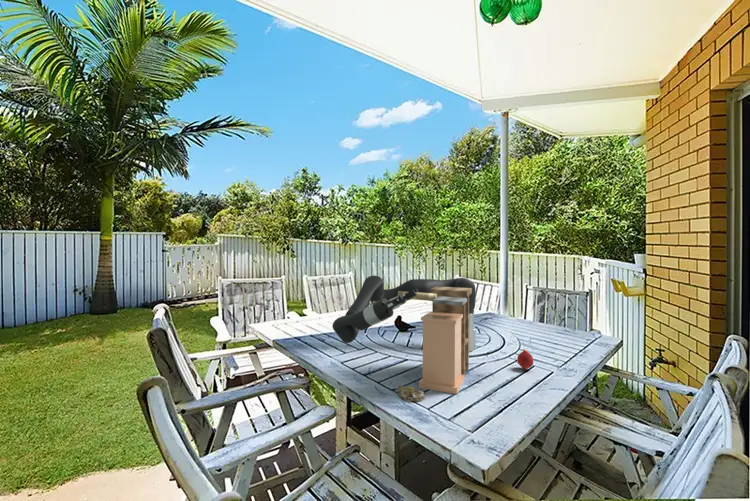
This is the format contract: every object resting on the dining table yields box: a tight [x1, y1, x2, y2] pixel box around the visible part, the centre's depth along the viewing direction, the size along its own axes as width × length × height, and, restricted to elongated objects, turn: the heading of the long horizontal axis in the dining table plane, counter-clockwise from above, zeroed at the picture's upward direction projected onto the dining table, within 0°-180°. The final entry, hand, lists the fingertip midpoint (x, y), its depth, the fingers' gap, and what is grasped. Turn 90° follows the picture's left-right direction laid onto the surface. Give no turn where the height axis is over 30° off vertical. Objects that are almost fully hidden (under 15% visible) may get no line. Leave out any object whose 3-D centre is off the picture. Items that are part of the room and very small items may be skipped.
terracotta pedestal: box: [418, 311, 465, 395], centre depth 125 cm, size 13×13×24 cm
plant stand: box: [430, 286, 472, 378], centre depth 138 cm, size 14×10×32 cm
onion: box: [516, 348, 534, 371], centre depth 140 cm, size 6×6×8 cm
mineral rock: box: [396, 384, 426, 403], centre depth 116 cm, size 11×4×8 cm
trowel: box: [398, 291, 467, 306], centre depth 127 cm, size 24×9×3 cm, turn 66°
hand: (416, 291), depth 129 cm, fingers closed on trowel, 2 cm apart
